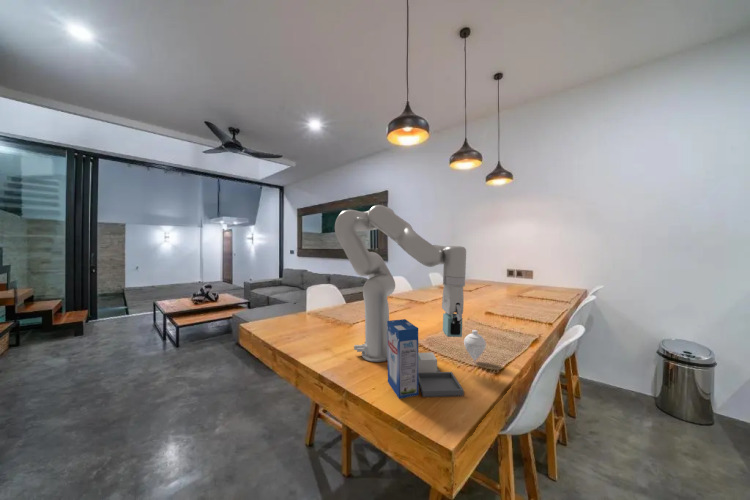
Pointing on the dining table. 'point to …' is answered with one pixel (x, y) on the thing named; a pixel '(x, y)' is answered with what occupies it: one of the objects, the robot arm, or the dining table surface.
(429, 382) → the tray
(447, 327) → the teal block
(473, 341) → the spinning top
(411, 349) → the milk carton
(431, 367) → the light grey block
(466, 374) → the dining table surface
